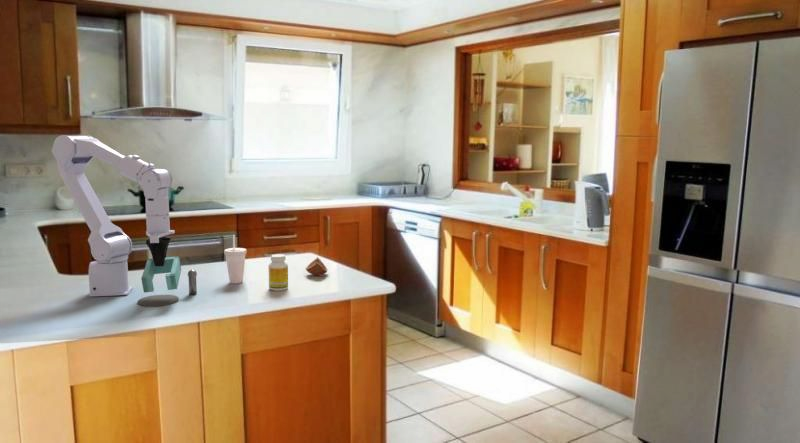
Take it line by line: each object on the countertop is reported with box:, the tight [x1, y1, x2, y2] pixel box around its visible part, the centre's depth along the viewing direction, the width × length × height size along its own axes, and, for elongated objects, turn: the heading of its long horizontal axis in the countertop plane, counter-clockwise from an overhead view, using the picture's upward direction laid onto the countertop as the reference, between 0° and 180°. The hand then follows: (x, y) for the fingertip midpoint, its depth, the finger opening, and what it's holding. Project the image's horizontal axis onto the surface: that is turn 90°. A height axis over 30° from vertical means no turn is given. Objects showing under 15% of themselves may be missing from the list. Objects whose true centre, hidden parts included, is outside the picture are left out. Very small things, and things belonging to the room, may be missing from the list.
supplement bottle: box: [268, 253, 289, 292], centre depth 178 cm, size 5×5×10 cm
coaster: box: [137, 294, 180, 307], centre depth 165 cm, size 10×10×1 cm
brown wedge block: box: [305, 257, 328, 276], centre depth 196 cm, size 8×7×5 cm
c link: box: [141, 255, 182, 293], centre depth 164 cm, size 8×11×4 cm
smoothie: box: [223, 234, 247, 284], centre depth 185 cm, size 6×6×14 cm
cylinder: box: [187, 269, 198, 296], centre depth 172 cm, size 2×2×7 cm
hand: (159, 265), depth 168 cm, fingers closed on c link, 2 cm apart
